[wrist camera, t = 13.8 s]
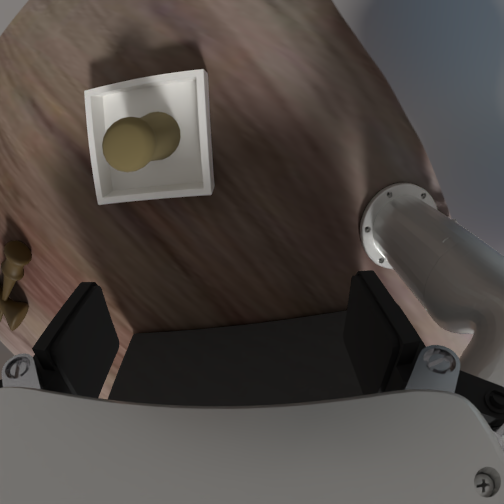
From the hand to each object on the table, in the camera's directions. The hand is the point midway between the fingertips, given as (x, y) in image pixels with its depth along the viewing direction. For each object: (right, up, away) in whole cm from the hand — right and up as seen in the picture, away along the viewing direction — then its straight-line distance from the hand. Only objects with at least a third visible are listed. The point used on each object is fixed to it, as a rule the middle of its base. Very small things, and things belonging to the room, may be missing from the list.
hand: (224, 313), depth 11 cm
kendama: (-42, -3, +32) cm, 53 cm away
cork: (-10, +16, +23) cm, 30 cm away
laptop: (+2, -20, +41) cm, 46 cm away
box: (-11, +16, +23) cm, 30 cm away
